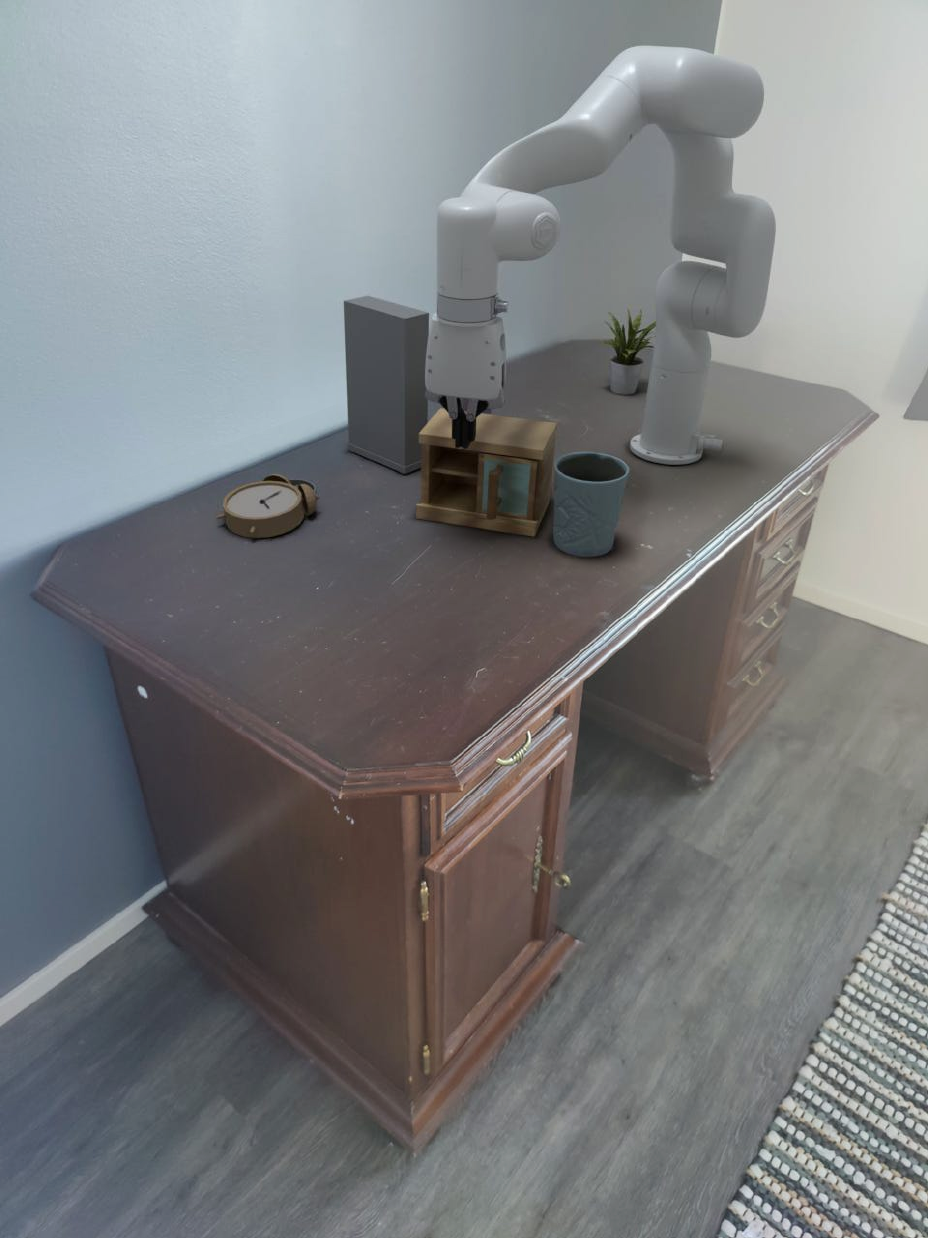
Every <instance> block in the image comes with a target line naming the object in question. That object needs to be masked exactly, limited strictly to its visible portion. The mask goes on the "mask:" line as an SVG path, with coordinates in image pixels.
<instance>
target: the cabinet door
mask: <svg viewBox="0 0 928 1238" xmlns="http://www.w3.org/2000/svg"><path fill="white" fill-rule="evenodd" d="M537 466H538V460H537V459H530V458H523V457H516V456H508V455H501V454H494V453H486V452H479V461H478V482H477V502H476V512H477V513H484V514H487V518H488V519H490V520H494V519H496V517H497V516H504V517H510V518H517V519H524V520H530V521H532V520H533V512H534V501H535V489H536V478H537Z"/></svg>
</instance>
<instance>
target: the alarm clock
mask: <svg viewBox="0 0 928 1238" xmlns="http://www.w3.org/2000/svg"><path fill="white" fill-rule="evenodd" d="M317 492H318V491H317V486H316V484H315V483H314V482H312V481H310V480H307V479H302V478H290V479H289V478H287V477H286V476H285V475H283V474H280V473H271V474H268V475H266V476H265V477H264V478H263V480H262V481H255V482H249V483H247V484H243V485H241V486H239V487H236V488H235V489H233V490H231V491H230V492H228V493H227V494H226V496H225V497H224V498H223V502H222V509H223V513H220V514H218V515H216V518H217V520H220V519H225V524H226V527H227V528H228V530H229V531H231V532H232V533H234V534H235V535H237V536H241V537H243V538H244V537H245V538H250V539H251V538H252V539H262V538H263V539H265V538H272V537H276V536H280V535H283V534H285V533H289V532H290V531H293V530H294V529H295V528H297V527H298V526H299V525H301V522H302V521H303V520H304V518H305V516H307V517H308V516H310V515H312V514H313V513H315V511H316V509H317V505H318V504H317V503H318V500H319V499H321V498H320V496H319V495H318V493H317Z"/></svg>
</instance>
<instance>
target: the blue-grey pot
mask: <svg viewBox="0 0 928 1238" xmlns="http://www.w3.org/2000/svg"><path fill="white" fill-rule="evenodd" d="M629 474H630V467H629V465H628V464H626V462H625V461H624V460H622V459H620V458H619V457H617V456H613V455H611V454H608V453H604V452H598V451H597V452H596V451H575V452H570V453H568V454H567V453H566V454H564V455H562V456H559V457H558V458H557V459H556V460H555V461H554V464H553V479H554V483H553V485H554V488H555V489H554V490H555V491H554V494H553V498H554V499H553V504H554V505H553V512H554V513H553V533H552V540H553V544H554V546H556V548H557V549H558V550H560V551H561V552H563V553H565V554H568V555H570V556H574V557H581V558H595V557H596V558H597V557H601V556H603V555H606V554H608V552H610V551H611V550H612V548H613V545H614V541H615V535H616V528H617V526H618V522H619V516H620V513H621V509H622V508H621V507H622V503H623V497H624V495H625V490H626V485H627V481H628V478H629Z"/></svg>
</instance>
